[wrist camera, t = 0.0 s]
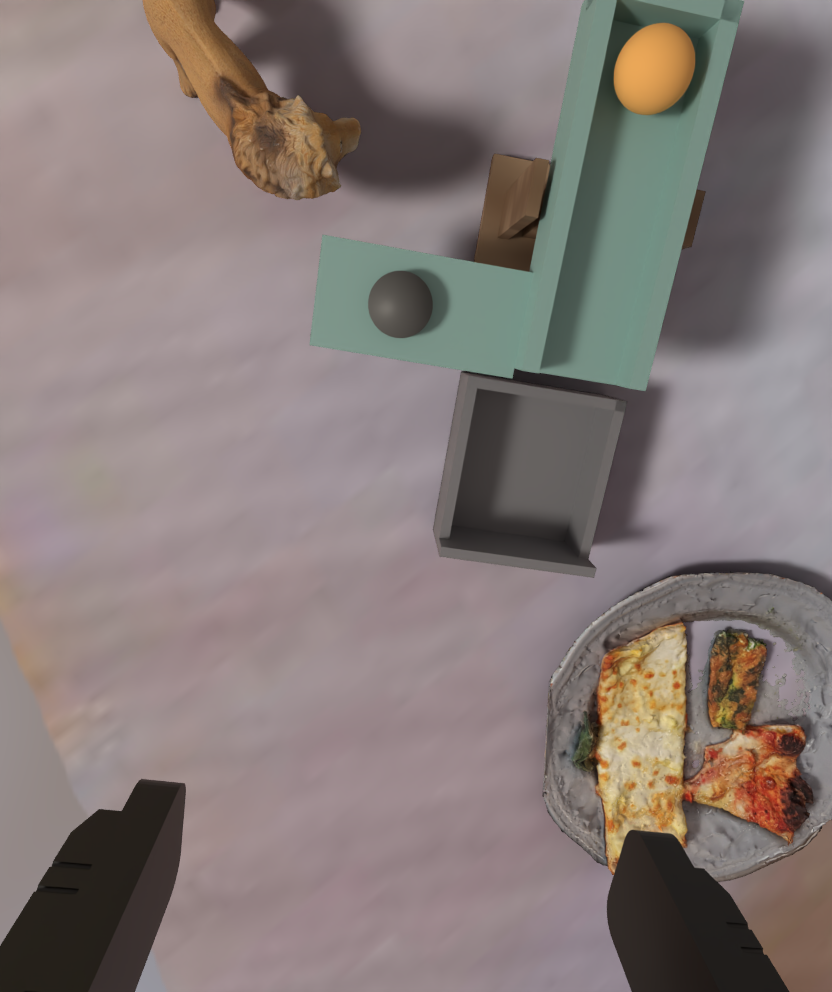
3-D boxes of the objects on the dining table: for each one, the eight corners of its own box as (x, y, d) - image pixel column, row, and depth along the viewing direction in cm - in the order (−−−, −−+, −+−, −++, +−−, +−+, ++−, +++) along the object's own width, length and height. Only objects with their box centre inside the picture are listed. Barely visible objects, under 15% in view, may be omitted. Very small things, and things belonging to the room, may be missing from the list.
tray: (461, 371, 38) (472, 377, 33) (605, 395, 39) (637, 404, 34) (432, 529, 40) (439, 556, 36) (569, 548, 41) (594, 577, 36)
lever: (358, -46, 27) (355, -88, 24) (709, 32, 28) (744, 1, 26) (311, 344, 31) (305, 345, 28) (621, 395, 32) (642, 401, 30)
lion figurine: (378, 175, 35) (376, 125, 26) (314, 247, 36) (291, 221, 27) (170, -49, 32) (89, -191, 23) (105, 35, 33) (3, -71, 24)
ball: (612, 36, 27) (641, -1, 24) (682, 51, 27) (720, 16, 24) (595, 117, 28) (621, 91, 25) (663, 131, 28) (697, 107, 25)
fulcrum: (492, 157, 35) (522, 108, 27) (661, 190, 36) (737, 152, 28) (472, 269, 36) (496, 252, 29) (635, 298, 37) (701, 290, 30)
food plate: (825, 859, 49) (858, 897, 46) (531, 870, 48) (542, 910, 45) (877, 557, 43) (919, 575, 40) (544, 564, 42) (557, 583, 39)
